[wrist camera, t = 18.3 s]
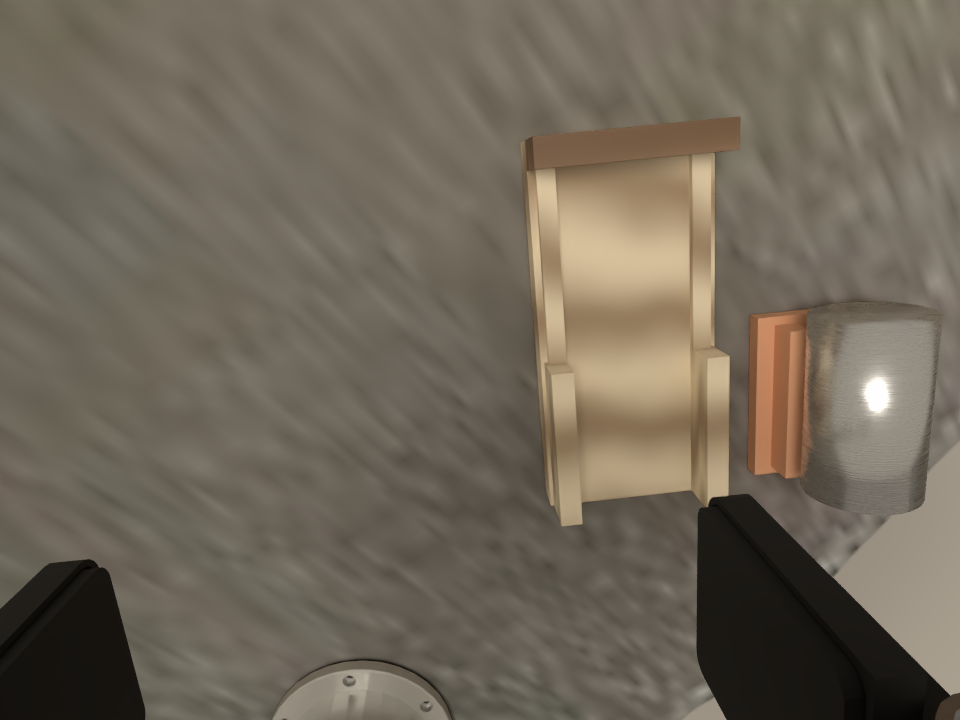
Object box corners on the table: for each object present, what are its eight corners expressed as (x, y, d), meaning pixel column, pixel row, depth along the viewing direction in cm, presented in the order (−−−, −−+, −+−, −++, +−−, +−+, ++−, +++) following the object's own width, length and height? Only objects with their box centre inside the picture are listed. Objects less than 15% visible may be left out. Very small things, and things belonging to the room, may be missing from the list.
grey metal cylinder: (870, 458, 39) (953, 504, 34) (778, 473, 39) (847, 522, 33) (881, 297, 37) (974, 317, 31) (783, 310, 36) (860, 332, 30)
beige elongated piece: (701, 473, 41) (735, 511, 36) (545, 490, 41) (559, 531, 36) (700, 125, 36) (740, 116, 31) (520, 143, 35) (532, 136, 31)
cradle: (869, 454, 41) (899, 473, 39) (747, 468, 41) (768, 488, 39) (881, 301, 39) (913, 310, 36) (750, 315, 39) (773, 324, 36)
